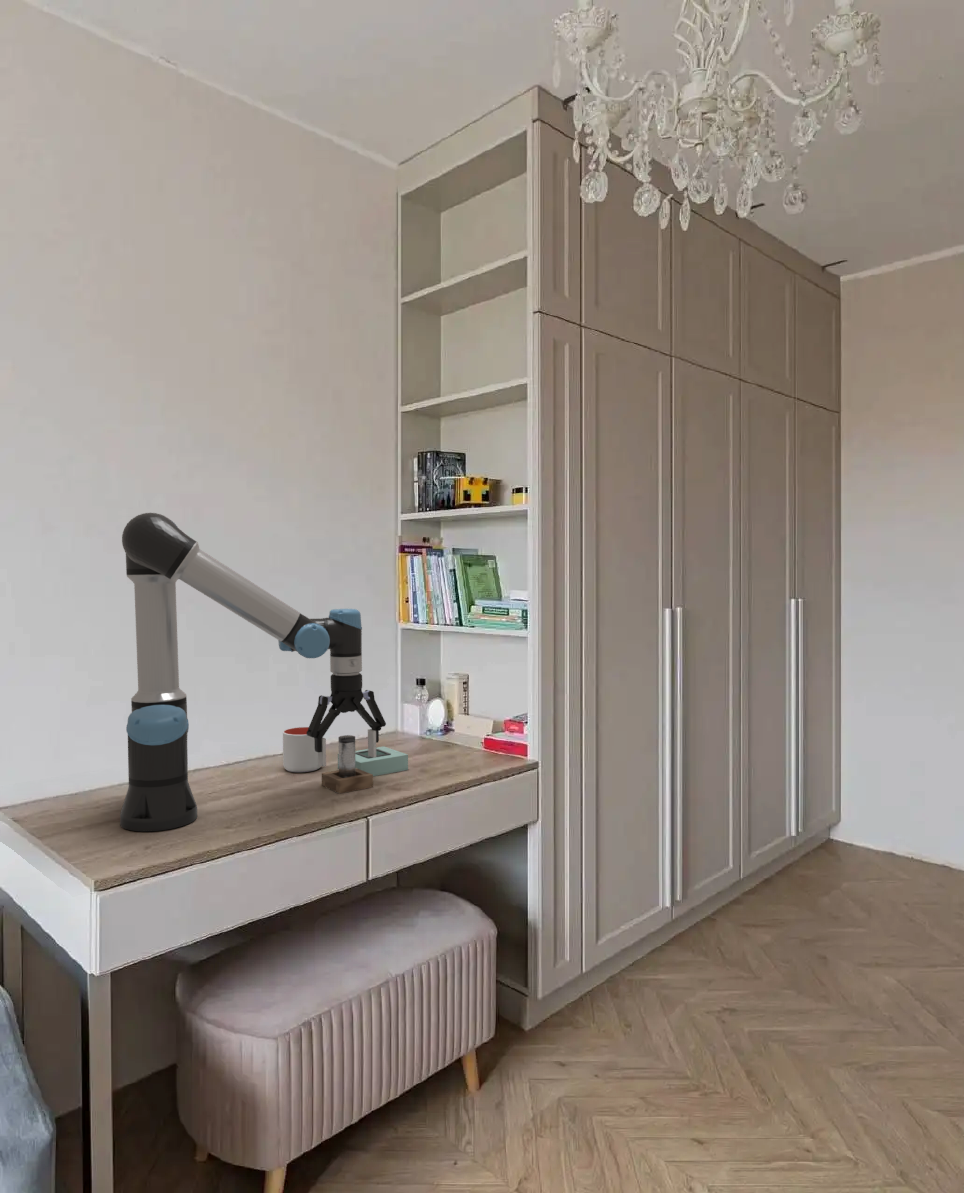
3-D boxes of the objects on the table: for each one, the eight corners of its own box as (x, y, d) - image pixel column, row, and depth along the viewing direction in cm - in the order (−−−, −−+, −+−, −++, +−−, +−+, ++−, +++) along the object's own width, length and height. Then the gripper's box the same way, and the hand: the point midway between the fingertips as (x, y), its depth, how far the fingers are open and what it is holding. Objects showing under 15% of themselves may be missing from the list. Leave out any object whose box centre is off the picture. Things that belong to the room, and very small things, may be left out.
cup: (327, 764, 224) (326, 727, 224) (315, 774, 214) (315, 735, 214) (290, 763, 225) (290, 726, 225) (277, 773, 215) (277, 734, 215)
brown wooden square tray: (339, 793, 197) (339, 780, 196) (321, 785, 204) (321, 773, 204) (373, 787, 202) (372, 774, 202) (354, 779, 209) (354, 767, 209)
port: (360, 778, 210) (360, 761, 209) (337, 768, 219) (337, 752, 219) (408, 769, 218) (408, 753, 218) (384, 760, 228) (383, 745, 228)
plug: (344, 789, 200) (343, 739, 199) (335, 785, 203) (335, 736, 203) (358, 786, 203) (358, 737, 202) (350, 783, 206) (350, 734, 205)
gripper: (305, 680, 191) (307, 772, 192) (398, 670, 206) (399, 755, 207) (291, 676, 197) (292, 765, 198) (382, 667, 212) (384, 750, 213)
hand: (347, 760), depth 203 cm, fingers open, 13 cm apart
